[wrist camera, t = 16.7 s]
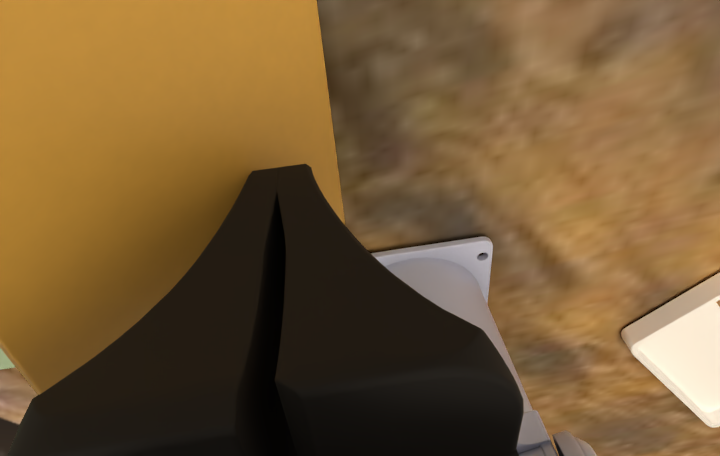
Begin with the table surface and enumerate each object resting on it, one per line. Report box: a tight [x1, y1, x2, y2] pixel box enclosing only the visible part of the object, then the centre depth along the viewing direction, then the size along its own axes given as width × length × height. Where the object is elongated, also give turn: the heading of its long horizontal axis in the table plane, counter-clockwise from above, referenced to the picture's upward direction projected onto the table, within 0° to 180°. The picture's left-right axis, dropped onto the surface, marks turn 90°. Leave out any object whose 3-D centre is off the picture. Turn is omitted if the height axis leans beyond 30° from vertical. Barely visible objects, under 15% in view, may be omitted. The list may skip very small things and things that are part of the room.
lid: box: [0, 0, 345, 395], centre depth 11 cm, size 8×13×1 cm
